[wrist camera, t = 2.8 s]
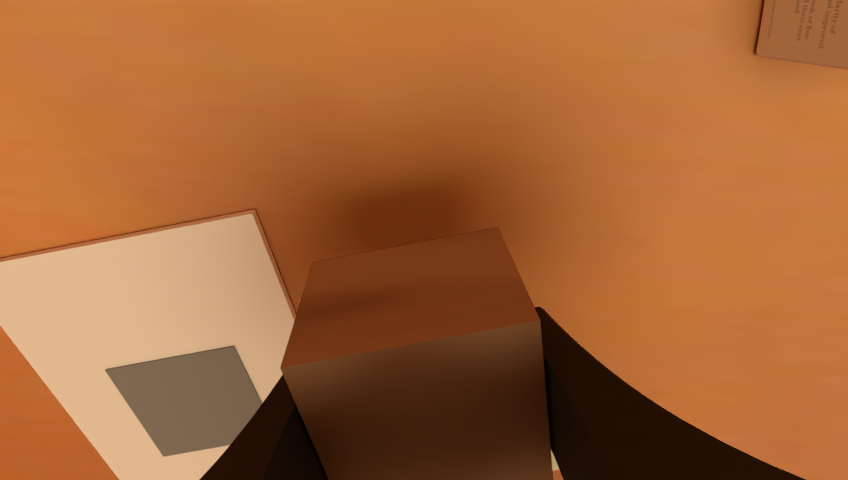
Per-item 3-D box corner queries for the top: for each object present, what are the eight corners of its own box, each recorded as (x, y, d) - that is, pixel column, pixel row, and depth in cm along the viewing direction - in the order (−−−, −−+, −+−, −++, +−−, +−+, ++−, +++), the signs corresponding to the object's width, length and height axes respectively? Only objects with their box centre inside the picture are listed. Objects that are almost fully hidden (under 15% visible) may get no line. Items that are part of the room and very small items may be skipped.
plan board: (364, 490, 27) (363, 498, 26) (162, 525, 27) (158, 533, 27) (254, 209, 18) (251, 214, 18) (-34, 265, 19) (-45, 271, 18)
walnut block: (514, 368, 15) (553, 487, 11) (358, 396, 15) (347, 522, 11) (497, 227, 12) (540, 320, 9) (312, 262, 12) (279, 367, 9)
